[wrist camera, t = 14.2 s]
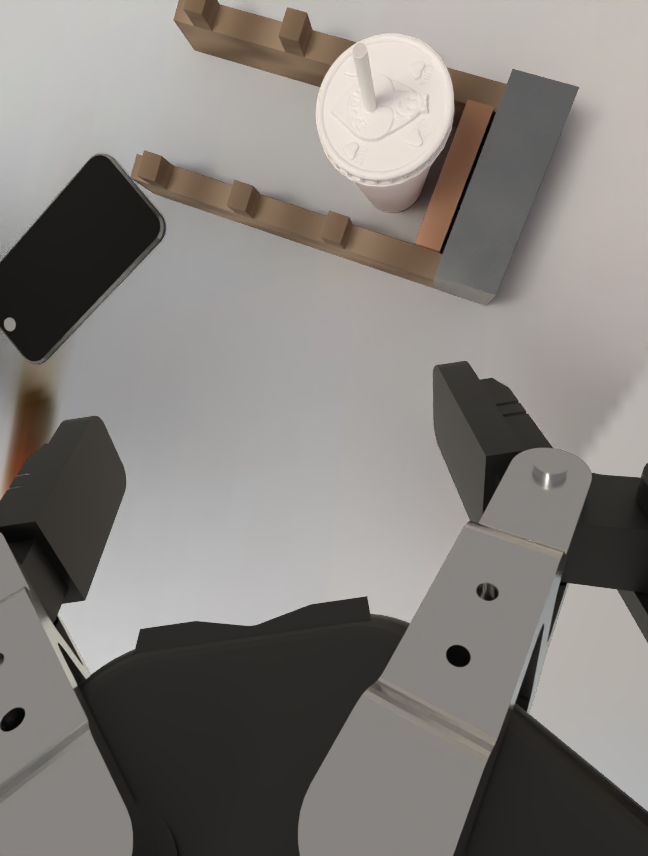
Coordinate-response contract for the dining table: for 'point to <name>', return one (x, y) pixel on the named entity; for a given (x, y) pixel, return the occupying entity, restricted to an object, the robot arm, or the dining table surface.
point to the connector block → (503, 186)
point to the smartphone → (75, 257)
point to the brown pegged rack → (309, 62)
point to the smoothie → (386, 116)
